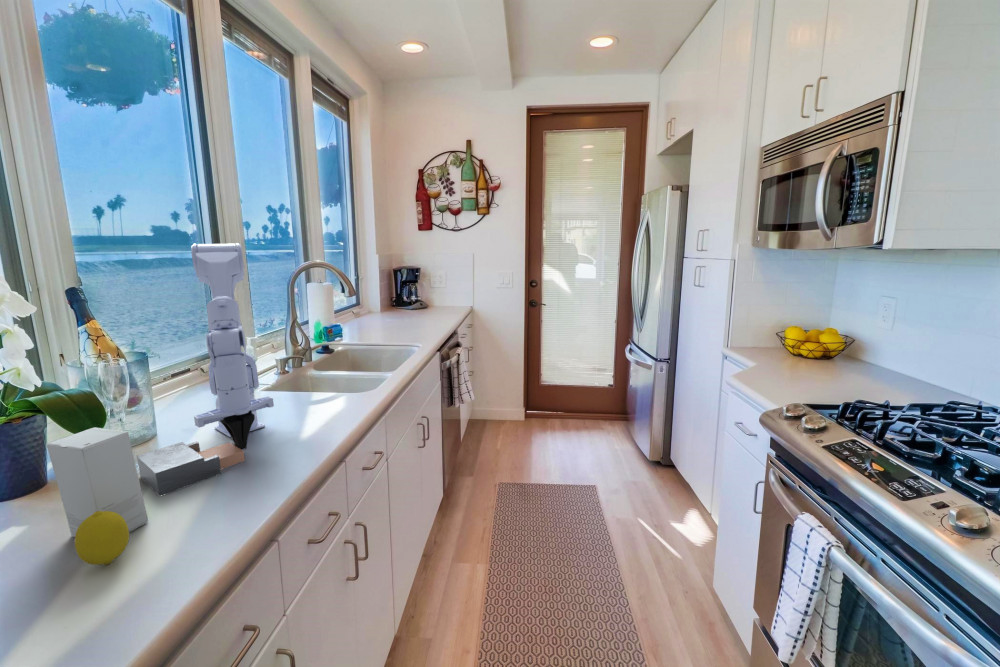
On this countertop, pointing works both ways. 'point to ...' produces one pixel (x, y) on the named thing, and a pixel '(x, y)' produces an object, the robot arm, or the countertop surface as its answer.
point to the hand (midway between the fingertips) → (241, 448)
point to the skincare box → (97, 476)
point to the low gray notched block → (176, 467)
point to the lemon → (101, 537)
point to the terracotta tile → (225, 454)
